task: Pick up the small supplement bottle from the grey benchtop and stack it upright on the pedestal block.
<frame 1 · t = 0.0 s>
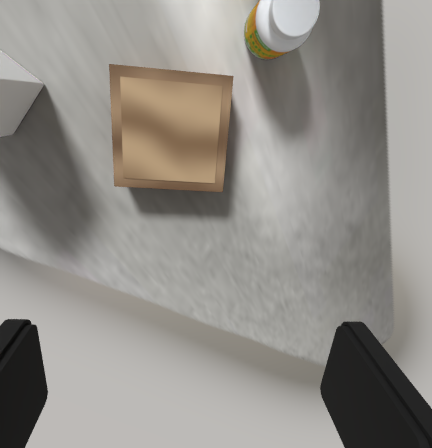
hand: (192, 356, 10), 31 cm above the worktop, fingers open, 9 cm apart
supplement bottle: (266, 32, 34), on the worktop
pedestal: (173, 129, 37), on the worktop
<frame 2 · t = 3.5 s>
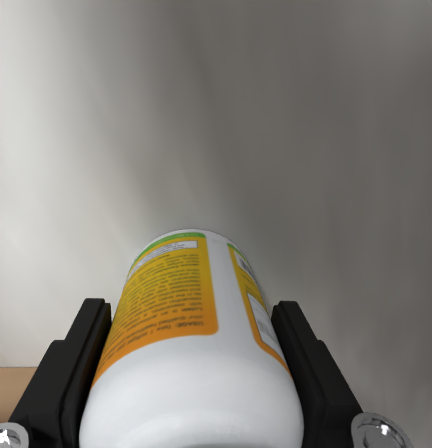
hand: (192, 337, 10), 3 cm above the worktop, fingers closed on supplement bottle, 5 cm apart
supplement bottle: (190, 278, 14), on the worktop, touching gripper
when the fingers open (9 cm above the worktop, at t = 8.5 s): supplement bottle stays where it is, resting on pedestal.
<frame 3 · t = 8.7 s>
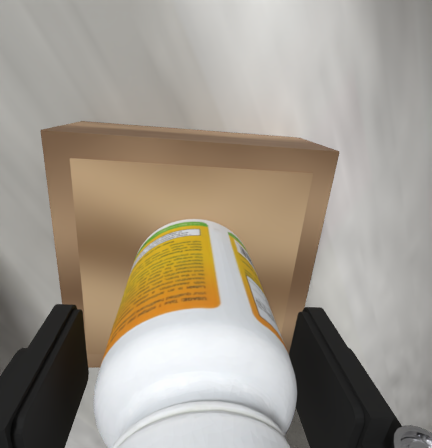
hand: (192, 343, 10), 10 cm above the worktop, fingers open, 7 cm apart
supplement bottle: (192, 267, 15), point 5 cm above the worktop, touching pedestal
pedestal: (189, 229, 19), on the worktop
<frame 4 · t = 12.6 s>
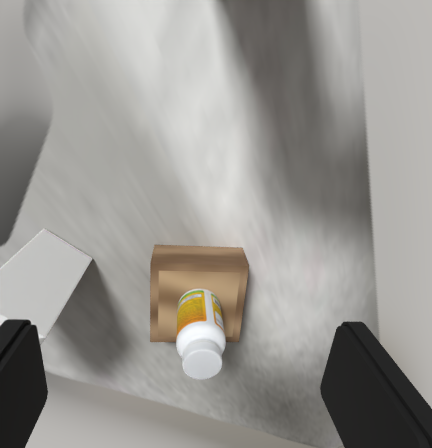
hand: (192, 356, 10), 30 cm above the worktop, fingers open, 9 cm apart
supplement bottle: (198, 303, 40), point 5 cm above the worktop, touching pedestal
milk carton: (56, 260, 41), on the worktop
pedestal: (196, 283, 44), on the worktop
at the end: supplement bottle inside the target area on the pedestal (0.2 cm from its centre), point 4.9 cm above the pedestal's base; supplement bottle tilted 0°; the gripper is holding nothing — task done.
